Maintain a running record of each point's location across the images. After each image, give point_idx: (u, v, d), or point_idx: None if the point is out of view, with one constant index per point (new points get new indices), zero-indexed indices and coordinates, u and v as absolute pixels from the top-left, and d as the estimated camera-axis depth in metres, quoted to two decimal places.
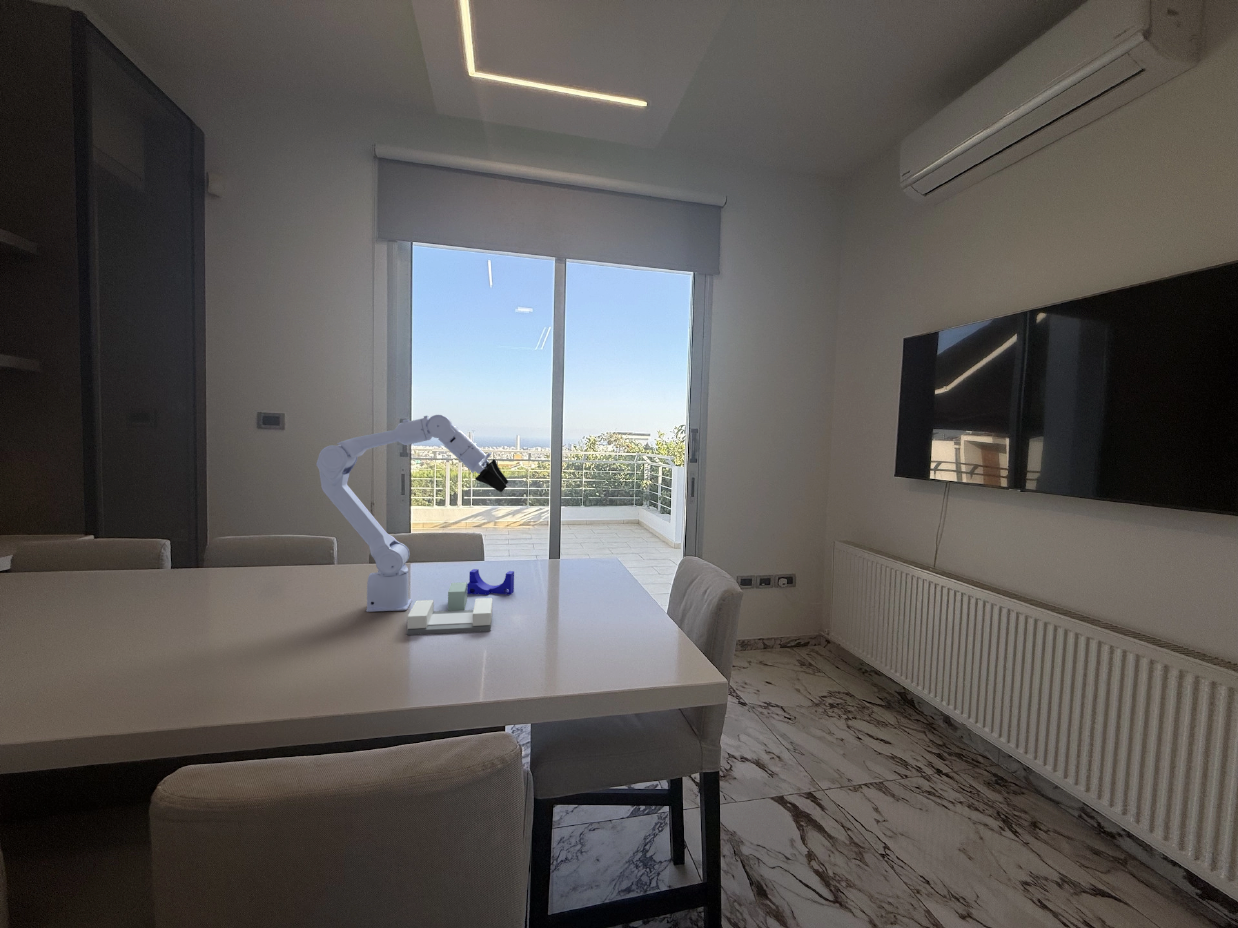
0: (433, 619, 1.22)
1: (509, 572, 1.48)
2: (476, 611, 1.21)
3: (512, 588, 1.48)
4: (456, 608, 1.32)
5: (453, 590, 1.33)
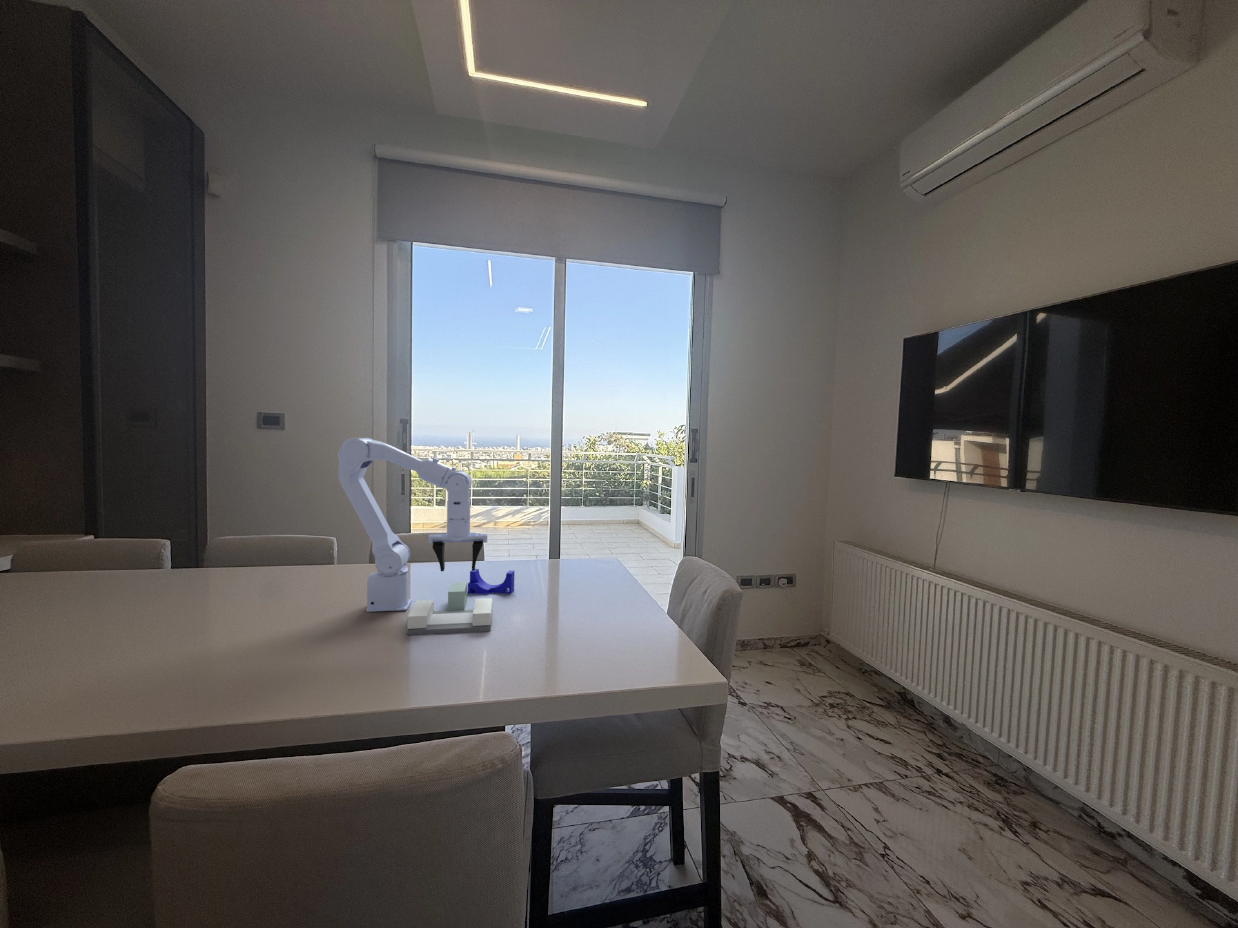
0: (433, 619, 1.22)
1: (509, 571, 1.48)
2: (476, 611, 1.21)
3: (512, 587, 1.49)
4: (456, 608, 1.32)
5: (453, 590, 1.33)
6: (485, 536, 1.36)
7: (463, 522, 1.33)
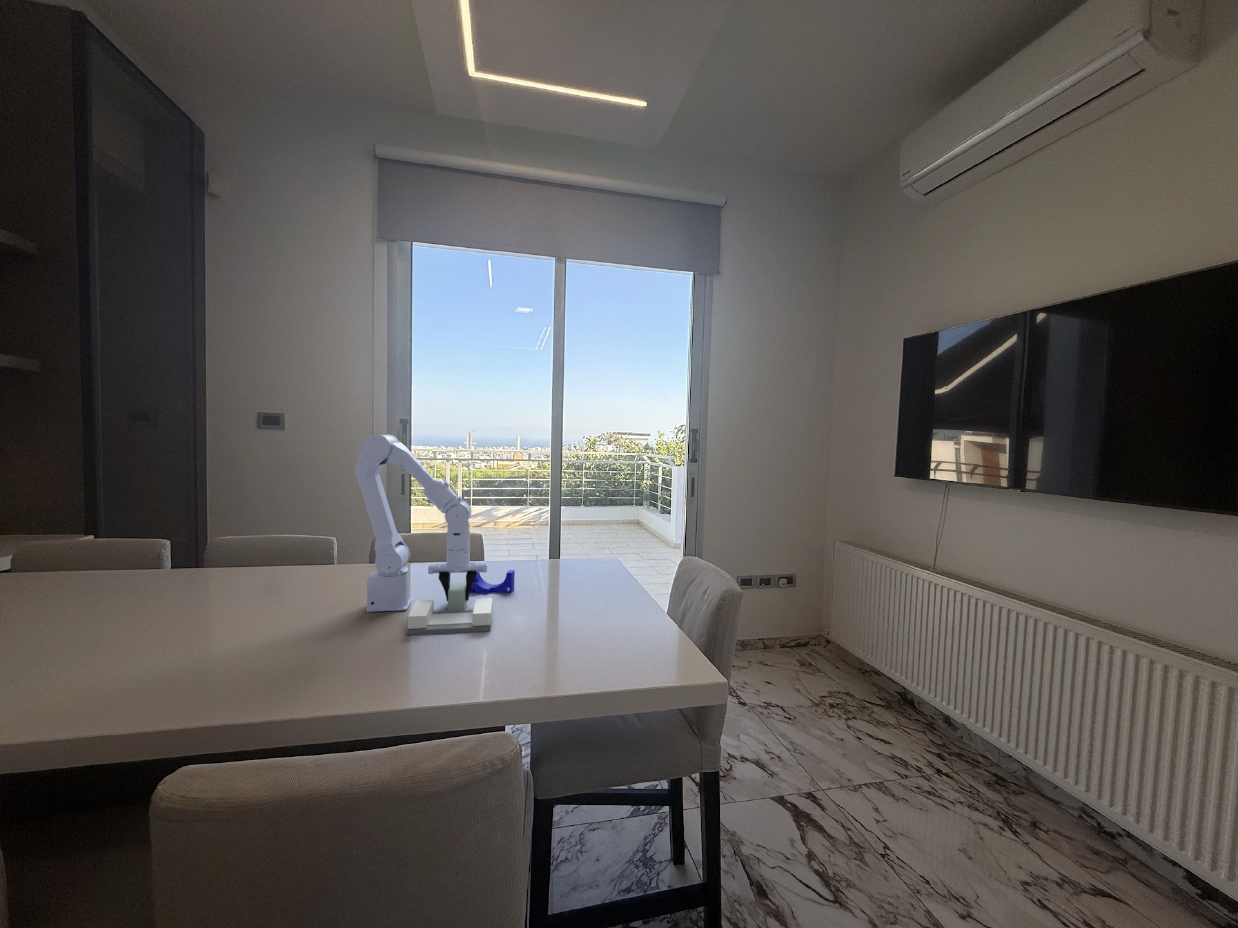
0: (433, 619, 1.22)
1: (510, 571, 1.49)
2: (476, 611, 1.21)
3: (513, 586, 1.49)
4: (456, 607, 1.32)
5: (453, 589, 1.33)
6: (485, 566, 1.36)
7: (463, 553, 1.33)
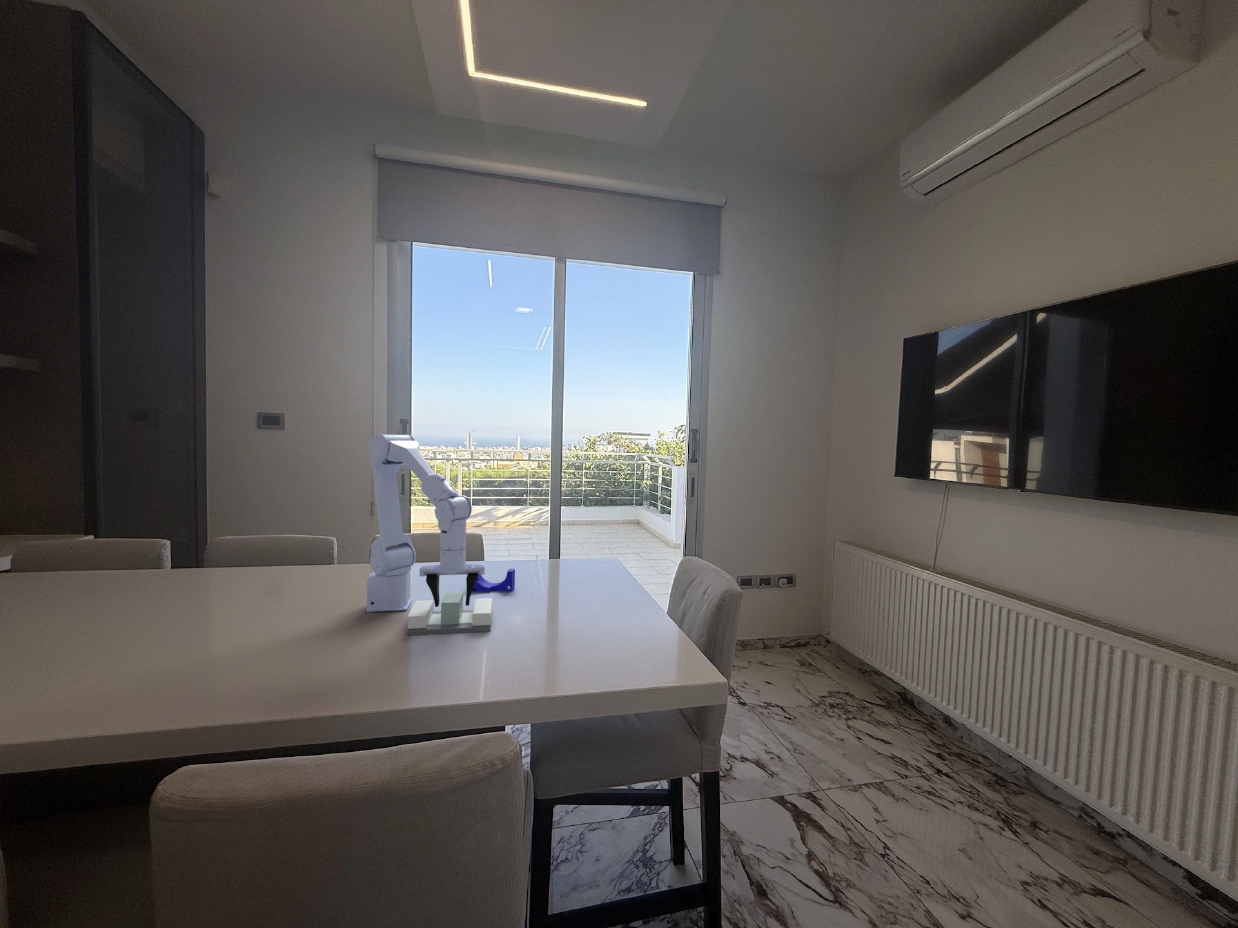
0: (433, 619, 1.22)
1: (510, 570, 1.50)
2: (476, 611, 1.21)
3: (513, 585, 1.51)
4: (450, 621, 1.20)
5: (447, 601, 1.20)
6: (482, 568, 1.23)
7: (458, 553, 1.20)
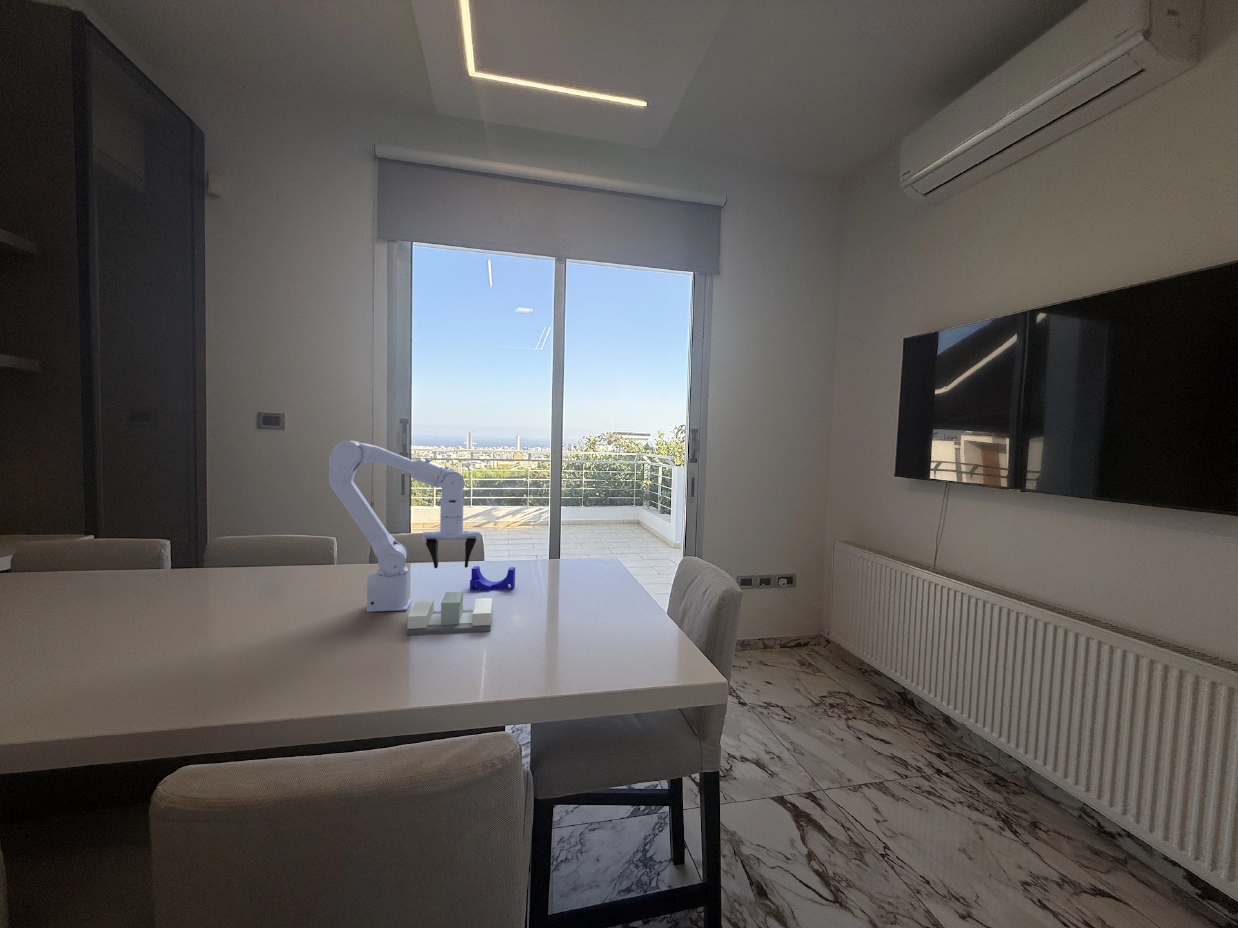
0: (433, 619, 1.22)
1: (511, 568, 1.52)
2: (476, 611, 1.21)
3: (514, 583, 1.53)
4: (450, 621, 1.20)
5: (447, 601, 1.20)
6: (478, 534, 1.38)
7: (456, 520, 1.35)
